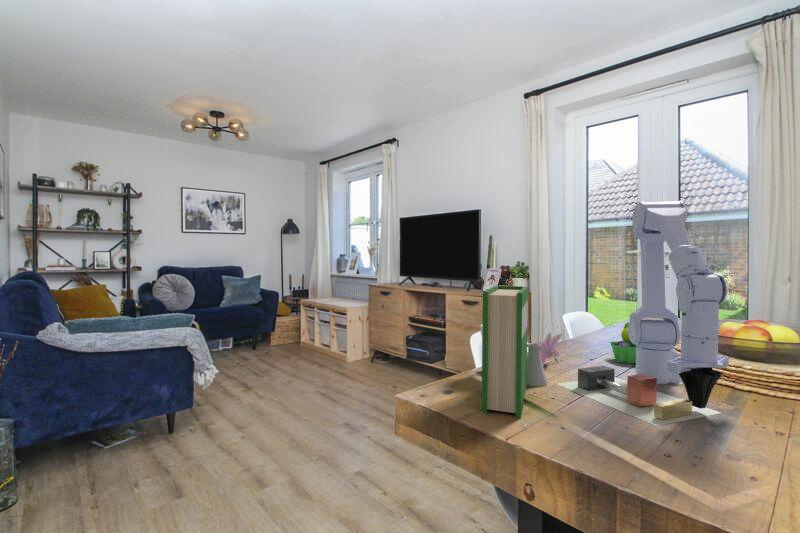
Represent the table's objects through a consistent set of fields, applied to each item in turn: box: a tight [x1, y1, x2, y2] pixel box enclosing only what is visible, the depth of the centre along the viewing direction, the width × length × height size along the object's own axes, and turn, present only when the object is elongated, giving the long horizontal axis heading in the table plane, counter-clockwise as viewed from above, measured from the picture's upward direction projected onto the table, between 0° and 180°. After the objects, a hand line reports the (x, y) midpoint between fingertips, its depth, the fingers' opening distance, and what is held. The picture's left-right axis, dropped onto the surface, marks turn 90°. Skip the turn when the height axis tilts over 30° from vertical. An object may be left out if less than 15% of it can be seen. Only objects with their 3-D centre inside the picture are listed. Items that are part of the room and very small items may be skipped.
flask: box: [527, 342, 549, 387], centre depth 96 cm, size 7×7×10 cm
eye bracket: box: [577, 365, 616, 391], centre depth 92 cm, size 8×3×4 cm, turn 110°
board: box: [556, 376, 722, 427], centre depth 86 cm, size 18×25×1 cm
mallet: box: [597, 374, 658, 407], centre depth 88 cm, size 4×16×5 cm, turn 20°
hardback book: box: [481, 285, 529, 419], centre depth 86 cm, size 18×7×24 cm, turn 159°
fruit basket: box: [609, 321, 636, 364], centre depth 119 cm, size 11×9×11 cm
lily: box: [534, 332, 563, 367], centre depth 113 cm, size 12×12×10 cm
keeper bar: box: [654, 398, 692, 420], centre depth 76 cm, size 8×2×2 cm, turn 110°
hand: (697, 406), depth 78 cm, fingers closed
